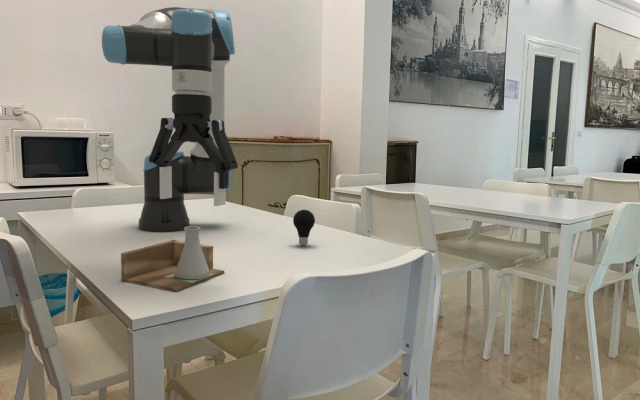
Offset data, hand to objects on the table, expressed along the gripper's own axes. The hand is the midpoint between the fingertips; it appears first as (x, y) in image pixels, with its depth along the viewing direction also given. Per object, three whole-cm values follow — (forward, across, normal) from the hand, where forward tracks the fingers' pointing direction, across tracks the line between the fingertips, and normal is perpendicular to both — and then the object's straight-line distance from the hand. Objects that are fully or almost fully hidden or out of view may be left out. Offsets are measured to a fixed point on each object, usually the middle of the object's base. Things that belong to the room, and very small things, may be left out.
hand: (192, 201), depth 101 cm
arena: (+16, -4, -1) cm, 16 cm away
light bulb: (+17, +6, +39) cm, 43 cm away
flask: (+15, 0, -1) cm, 15 cm away
